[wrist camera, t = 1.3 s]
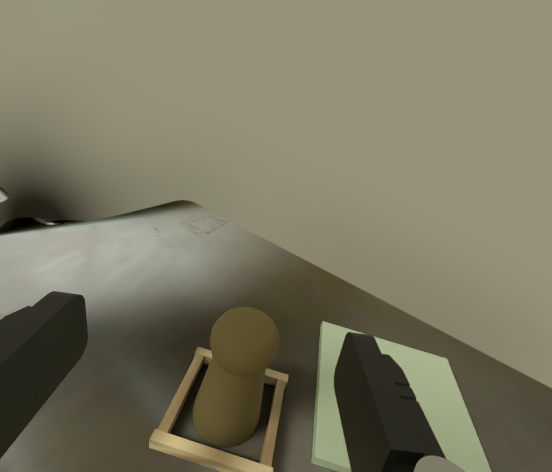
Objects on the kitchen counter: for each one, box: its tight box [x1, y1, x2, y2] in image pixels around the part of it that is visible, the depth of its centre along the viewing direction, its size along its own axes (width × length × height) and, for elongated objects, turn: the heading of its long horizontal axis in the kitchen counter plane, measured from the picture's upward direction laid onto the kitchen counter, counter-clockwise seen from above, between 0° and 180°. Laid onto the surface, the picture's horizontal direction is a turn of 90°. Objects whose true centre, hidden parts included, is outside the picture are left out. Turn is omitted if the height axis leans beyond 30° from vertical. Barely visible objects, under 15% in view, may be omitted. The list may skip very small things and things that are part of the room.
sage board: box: [311, 321, 491, 472], centre depth 32 cm, size 16×16×1 cm
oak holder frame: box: [149, 347, 289, 472], centre depth 27 cm, size 10×9×1 cm
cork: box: [192, 307, 279, 448], centre depth 25 cm, size 6×6×11 cm
